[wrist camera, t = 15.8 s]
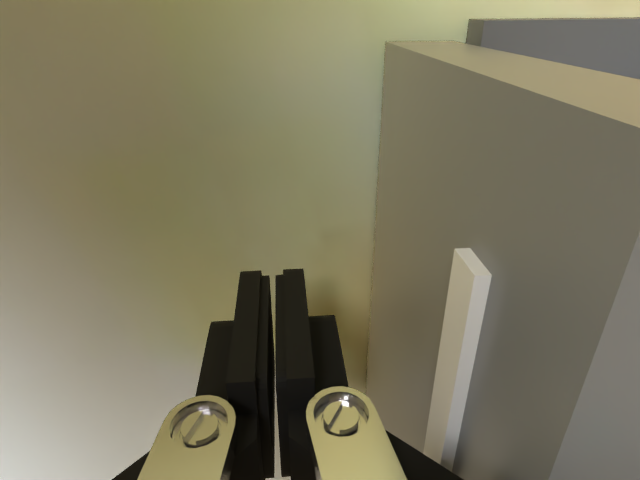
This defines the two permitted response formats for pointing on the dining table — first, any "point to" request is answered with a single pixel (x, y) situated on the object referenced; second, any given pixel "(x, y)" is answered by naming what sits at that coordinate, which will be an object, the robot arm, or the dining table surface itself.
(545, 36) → the housing
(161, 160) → the dining table surface
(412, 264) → the tray
